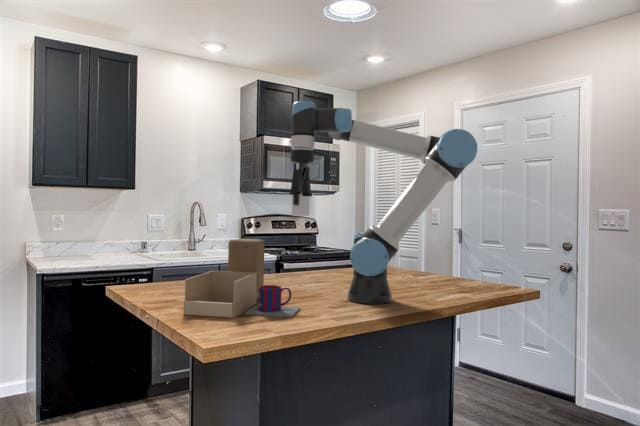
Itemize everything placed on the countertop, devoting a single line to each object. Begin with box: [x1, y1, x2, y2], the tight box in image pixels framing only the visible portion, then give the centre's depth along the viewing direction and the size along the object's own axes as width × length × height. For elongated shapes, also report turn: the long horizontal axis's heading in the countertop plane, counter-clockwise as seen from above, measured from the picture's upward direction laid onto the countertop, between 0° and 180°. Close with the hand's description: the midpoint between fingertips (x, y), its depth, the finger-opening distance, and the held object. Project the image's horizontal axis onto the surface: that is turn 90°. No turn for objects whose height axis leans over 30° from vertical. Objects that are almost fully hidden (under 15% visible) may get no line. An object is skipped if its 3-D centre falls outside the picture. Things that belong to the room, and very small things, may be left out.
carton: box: [183, 270, 258, 319], centre depth 141 cm, size 15×21×10 cm
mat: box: [244, 304, 301, 318], centre depth 139 cm, size 14×11×1 cm
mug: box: [257, 284, 292, 312], centre depth 139 cm, size 7×10×7 cm
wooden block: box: [227, 238, 265, 299], centre depth 160 cm, size 10×10×20 cm
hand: (300, 215), depth 150 cm, fingers open, 13 cm apart
